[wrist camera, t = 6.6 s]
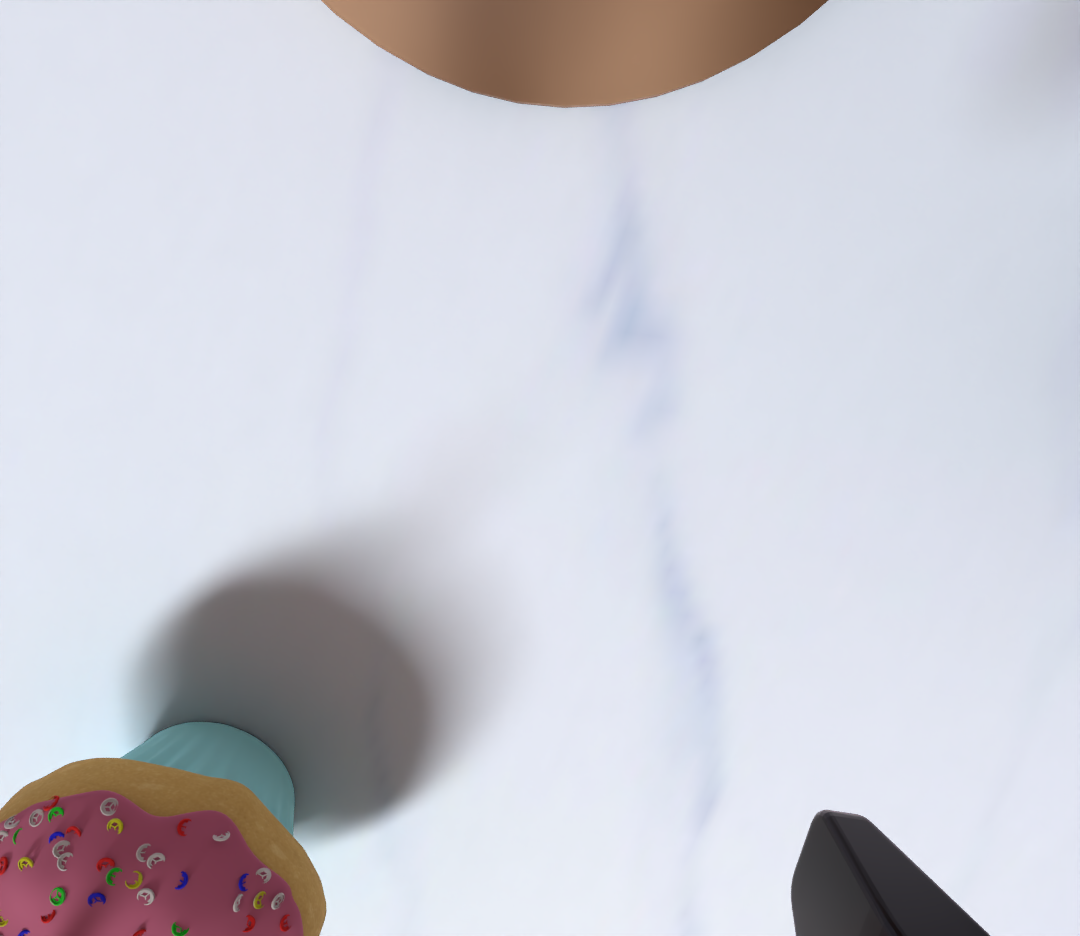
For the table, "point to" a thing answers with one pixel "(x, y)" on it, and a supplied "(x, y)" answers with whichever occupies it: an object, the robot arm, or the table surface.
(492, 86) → the walnut board
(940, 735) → the table surface
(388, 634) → the table surface
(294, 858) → the cupcake
